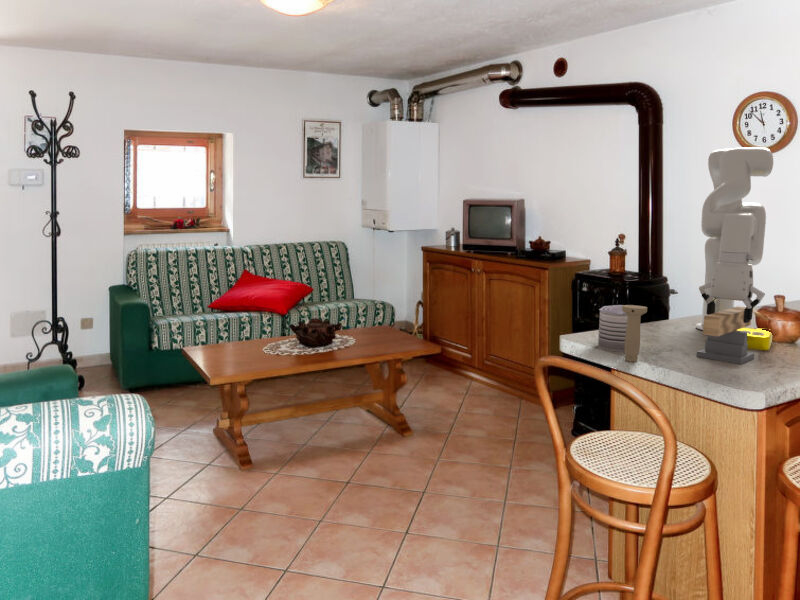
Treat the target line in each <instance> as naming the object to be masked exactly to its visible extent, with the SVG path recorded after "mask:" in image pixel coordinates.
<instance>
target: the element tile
mask: <svg viewBox="0 0 800 600" xmlns="http://www.w3.org/2000/svg"><path fill="white" fill-rule="evenodd" d="M762 329H763V328H758V327H751V326H750V327H749V326H747V327H744V328H741V329H738V331H745V332H748V334H747V344H748V348H747V350H749V349H750V350H759V351H769V350H770V348H771V345H772V344H771V343H773V335H772V333H771V332H769V331H766V330H762Z"/></svg>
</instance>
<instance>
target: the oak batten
mask: <svg viewBox="0 0 800 600" xmlns="http://www.w3.org/2000/svg"><path fill="white" fill-rule="evenodd" d="M745 308H746V306H745V307H744V306H739V305H738V306H734V308H730V309H727V310H723V311H720V312H716V313H713V314H709V315H706V316H704V326H703V330H702V335H706V336H707V335H711V336H721V335H724V334H727V333H729V332H732V331H735V330H738V329H741V328H744V327H749V326H750V327H751V324H752V319H751V320H750V322H748V323H744V322H743V319H744V309H745Z"/></svg>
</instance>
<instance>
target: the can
mask: <svg viewBox="0 0 800 600" xmlns="http://www.w3.org/2000/svg"><path fill="white" fill-rule="evenodd" d="M623 305H624V304H614V305H604V306H602V307H601V308H599V309H598V310H599V320H598V321H599V325H598V338H597V341H598V342H597V346H598V347H599V349H602V348H603V349H602V350H605V349H606V351H610V352H624V353H625V335H626V328H627V319H628V316H627V314H626V313H625V312H623V311H622V306H623Z"/></svg>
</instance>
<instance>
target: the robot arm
mask: <svg viewBox="0 0 800 600" xmlns="http://www.w3.org/2000/svg"><path fill="white" fill-rule="evenodd" d="M707 160H708V161H707V162H708V163H707V166H708V171H709V175H710V178H711V182H712V184H713V185H712V186H713V190H712V192H710V193H709V194H708V196H707V197H706V199H705V201H703V204H702V210H701V211H702V212H701V226H700V227H701V232H702V233H703V235H704V236H706V237H707V238H708V239H706V241H705V244H704V256H705V257H704V259H705V273H704V274H705V275H704V284H703V285H701V286H699V287H698V290H699V292H700V294H701V297H702V298H703V300H702V309H701V310H702V311H701V322H698V323H696V324H695V325H696V326H695V328H696V329H698V330H701V331H703V326H704V316H706V315H709V314H713V313H716V312H720V311H723V310H727V309H730V308H734V307H735V301H739V302H740V301H742V303H743V304H744V305H745V307H746V308H745V309H744V319H743V322H744V323H748V322H750V320H751V321H752V318H753V312H754V308H755V307H757V305H759V304H760V303H761V301H763V299H764V298H765V296H766V295H765V292H763V291H762V290H760V289H758V288H756V287H755V286H754V269H753V266H757V265H759V264H760V263H761V262H762V259H763V253H764V244H765V234H766V233H765V232H766V224H767V222H766V220H767V211H766V209H765V206H763V205H762V204H760V203H757V202H743V199H744V198H746V197H747V196H748V195H749V194H750V192H751V188H752V183H751V180H752V179H751V178H752V177H762V178H763V177H768V176H769V175H770V174H771V173H772V172H773V167H774V155H773V153H772V151H771V150H770V149H769V148H767V147H735V148H733V147H732V148H723V149H716V150H714V151H711V153H709V156H708V159H707ZM754 295H756V298H755V299H754V300H752V298H753V296H754Z"/></svg>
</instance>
